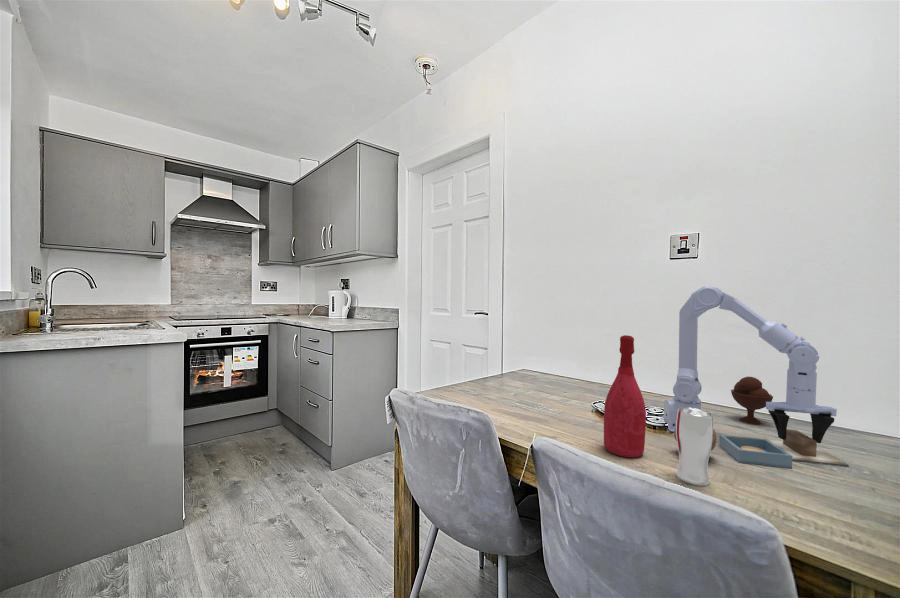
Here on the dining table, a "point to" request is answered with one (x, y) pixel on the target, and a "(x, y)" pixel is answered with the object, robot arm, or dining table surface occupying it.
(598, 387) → the dining table surface
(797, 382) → the robot arm
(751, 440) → the dish
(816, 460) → the lid
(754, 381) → the ice cream bowl
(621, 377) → the wine bottle
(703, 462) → the beer glass
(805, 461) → the mat
